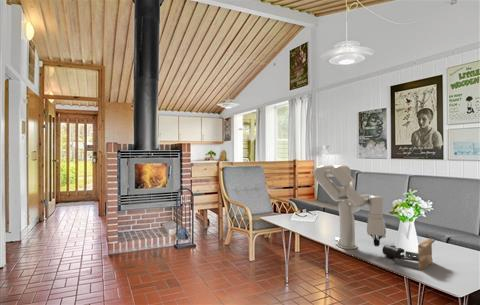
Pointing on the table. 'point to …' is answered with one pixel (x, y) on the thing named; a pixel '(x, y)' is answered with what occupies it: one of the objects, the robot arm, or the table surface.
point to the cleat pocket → (408, 263)
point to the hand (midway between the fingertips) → (376, 245)
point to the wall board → (425, 253)
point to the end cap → (393, 252)
